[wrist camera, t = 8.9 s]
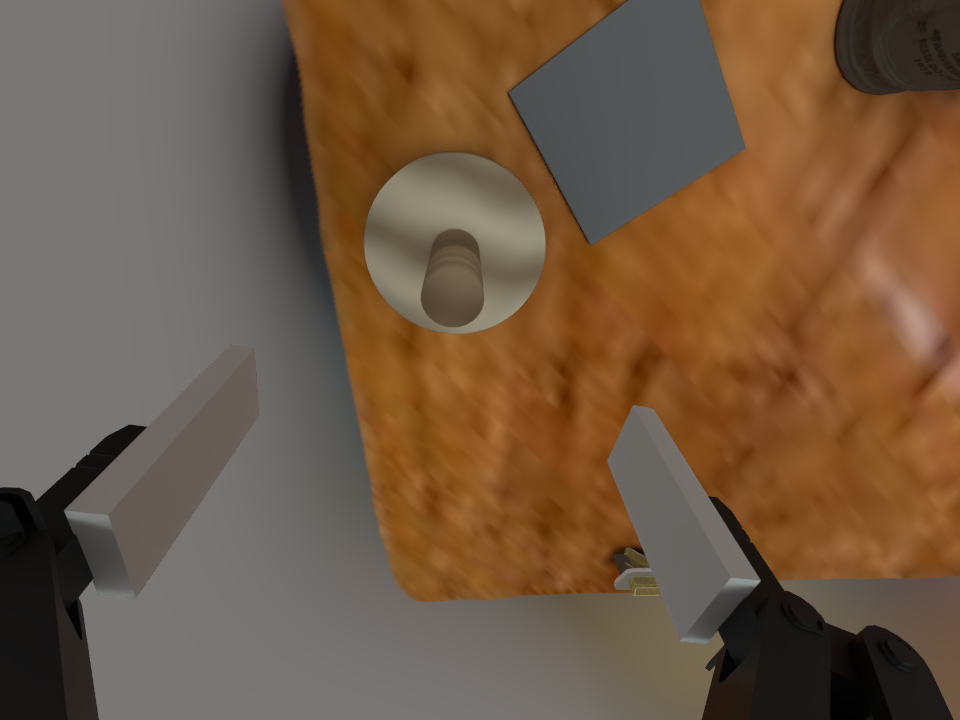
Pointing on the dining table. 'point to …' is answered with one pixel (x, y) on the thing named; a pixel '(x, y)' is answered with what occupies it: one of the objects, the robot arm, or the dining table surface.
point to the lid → (454, 242)
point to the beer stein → (899, 45)
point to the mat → (631, 112)
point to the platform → (634, 573)
